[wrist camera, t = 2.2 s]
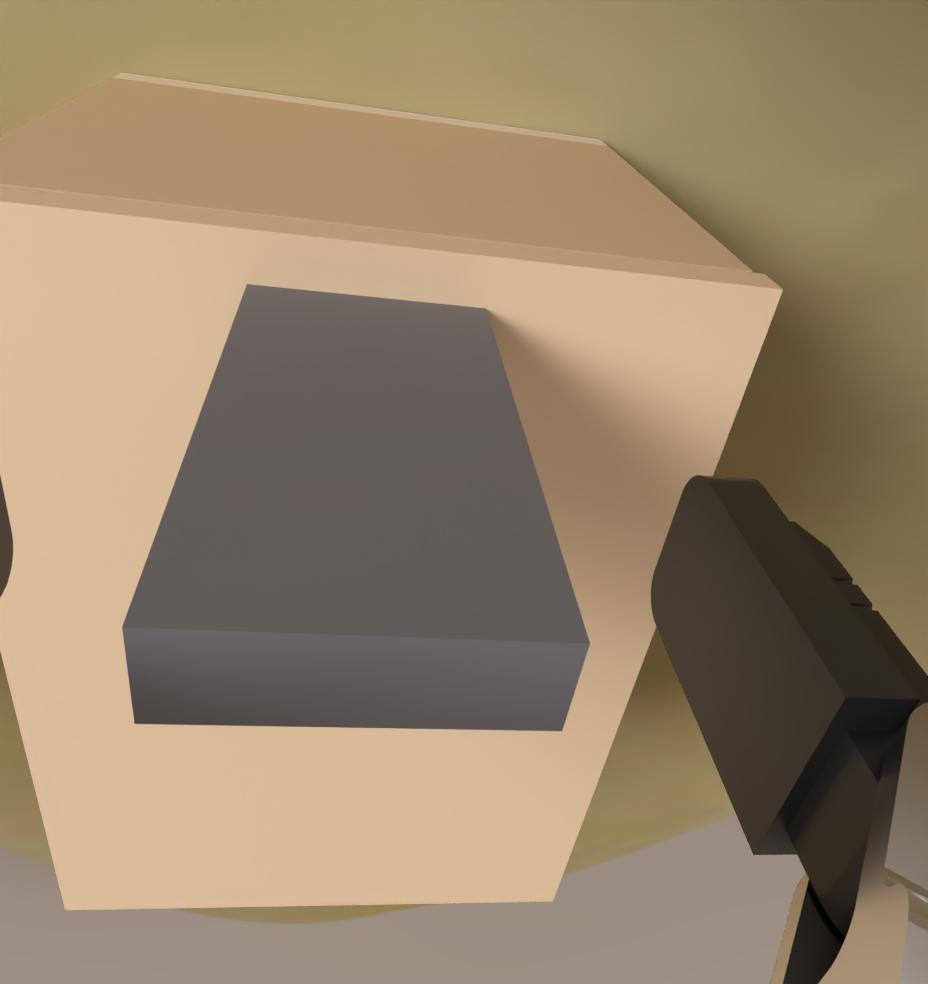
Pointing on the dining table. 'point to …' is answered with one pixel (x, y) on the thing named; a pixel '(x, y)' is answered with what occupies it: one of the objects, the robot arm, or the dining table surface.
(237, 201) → the carton
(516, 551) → the lid flap
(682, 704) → the dining table surface
